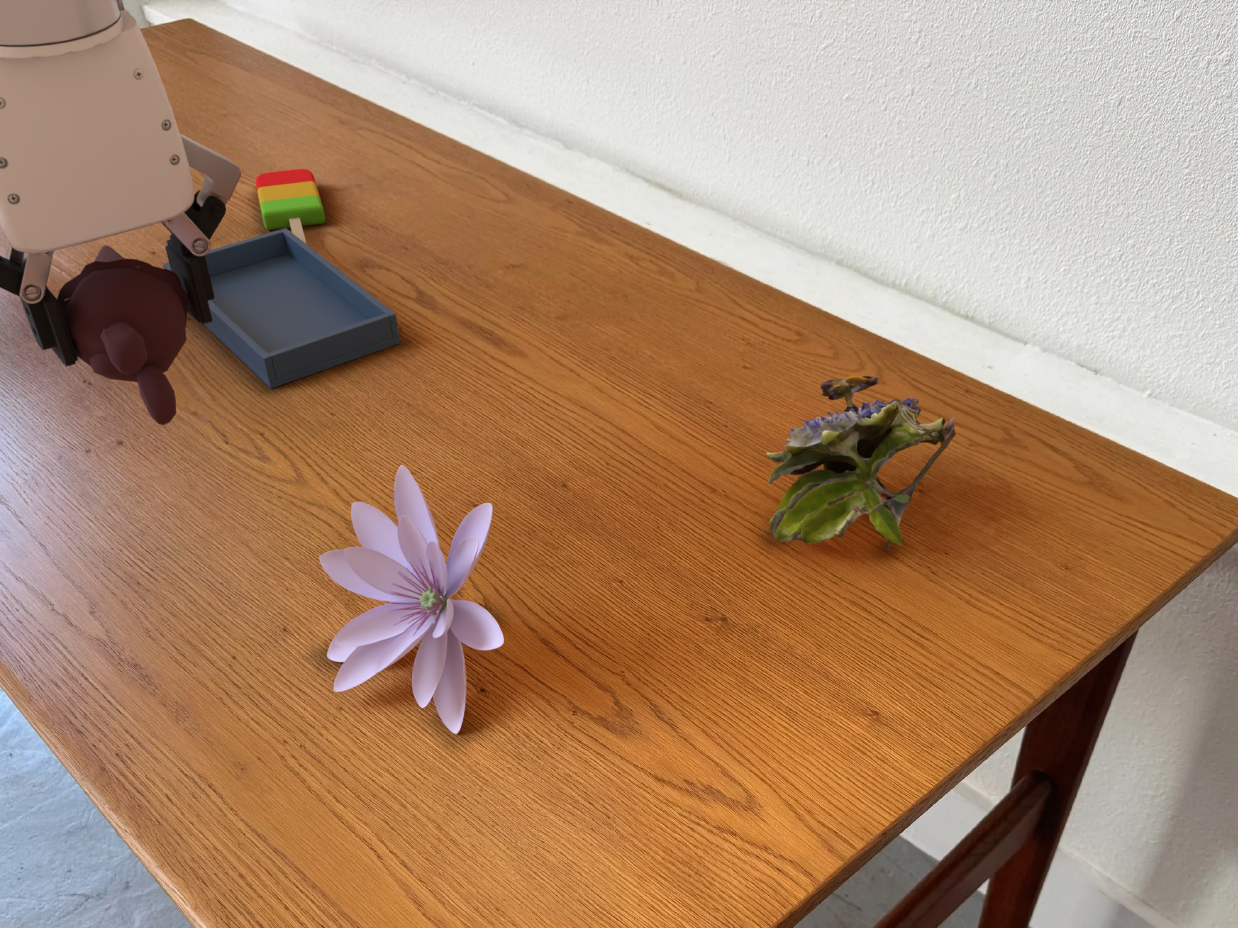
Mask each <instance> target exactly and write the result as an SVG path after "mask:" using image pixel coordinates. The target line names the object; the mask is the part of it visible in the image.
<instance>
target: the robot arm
mask: <svg viewBox="0 0 1238 928" xmlns="http://www.w3.org/2000/svg"><path fill="white" fill-rule="evenodd" d="M191 168H192V169H194V170H196V171H198V172H200V173H203V179H202V182H201V185H202V186H201V188H200V189H199V190H197V191H196V192H195V188H194V187H195V186H194V180H193V176H192V171H191ZM241 176H242V169H241V168H240V166H239V165H237V164H236V163H235V162H233V160H231V159H230V158H229V157H227V156H225V155H222V154H221V153H219V152H217V151H216V150H214V149H211V148H209V147H207V146H205V145H203V144H202V143H199V142H197V141H196V140H194V139H191V138H190V137H188V136H186V135H184V134H183V133H180V129H179V126H178V124H177V121H176V118H175V114H174V111H173V108H172V105H171V102H170V100H169V97H168V94H167V91H166V88H165V85H164V83H163V81H162V79H161V75H160V73H159V70H158V67H157V65H156V63H155V60H154V58H153V56H152V53H151V51H150V49H149V46H148V43H147V41H146V39H145V37H144V35H143V33H142V31H141V28H140V26H139V25H138V22H137V20H136V18H135V17H134V16H133V15H132V14H131V13H130V12H129V11H128V10H127V9H126V8H125V6H124V2H123V0H0V229H2V232H3V235H4V236H5V239H6V240H7V242H8V247H7V252H6V256H5V257H4V256H2V255H0V289H2V290H4V291H6V292H9V293H11V294H12V295H15V296H17V297H19V299H20V302H21V305H22V307H23V310H24V313H25V316H26V319H27V321H28V324H29V327H30V330H31V332H32V336H33V338H34V340H35V342H36V343H37V345H38V347H39V348H40V349H41V350H42V351H46V350H49V349H51V351H53V353H54V354H55V355H56V357H57V358H58V359H59V360H60V361H61V362H62V364H63V365H64V366H65V367H70V366H74V365H76V364H77V361H79V357H77V354H76V351H75V348H74V345H73V342H72V339H71V336H70V333H69V330H68V327H67V324H66V321H65V318H64V315H63V312H62V309H61V306H60V304H59V302H58V300H57V298H58V297H56V296H55V295H54V294H53V292H52V291H51V290H50V288H48V286H47V284H48V279H49V276H50V271H51V266H52V262H53V258H54V253H55V251H59V250H64V249H68V248H71V247H74V246H78V245H82V244H87V243H90V242H95V241H98V240H102V239H106V238H109V237H113V236H117V235H120V234H124V233H128V232H131V231H135V230H136V231H137V230H139V229H143V228H146V227H150V226H153V225H158V224H161V225H162V226H163V227H164V228H165V229H166V230H167V231H168V232H169V233H170V235H169V239H167V240H166V244H167V245H164V246H165V247H164V248H165V252H166V256H167V260H168V262H169V264H170V268H171V271H172V272H174V273H176V274H177V276H178V277H179V279H180V282H181V285H182V289H183V290H184V291H185V292H186V293H187V295H188V299H189V300H188V306H187V314H189V315H190V316H191V317H192V318H193V319H194V320H195V321H196V322H197V324H202V325H204V324H206V323H209V322H212V316H211V312H210V308H209V304H208V301H209V300H212V299H214V292H213V288H212V284H211V279H210V275H209V271H208V267H207V263H206V258H205V255H206V254H207V253H208V252H209V250H211V247H212V246H211V245H212V244H211V241H210V240H211V239H212V237H213V235H214V234H215V232H216V230H217V229H218V227H219V225H220V223H221V222H222V220H223V218H224V217H225V215H226V213H227V207H226V205H227V204H228V201H229V202H230V200H231V198H232V196H233V194H234V191H235V189H236V187H237V185H238V183H239V181H240V179H241Z"/></svg>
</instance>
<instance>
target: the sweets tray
mask: <svg viewBox="0 0 1238 928" xmlns="http://www.w3.org/2000/svg"><path fill="white" fill-rule="evenodd" d="M205 258H206V263H207V267H208V271H209V275H210V279H211V284H212V288H213V292H214V299H212V300H209V301H208V304H209V308H210V312H211V316H212V322H209V323H206V324H203V325H204V326H205V327H206V328H207V329H208V330H209V331H210V332H211V333H212V334H213V335H214V336H215V337H216V338H218V340H219V341H221V343H223V344H224V345H225V346H226V347H227V348H228V350H230V351H231V352H232V353H233V354H234V355H235V356H236V357H237V358H238V359H239V360H240V361H241V362H242V363H243V364H244V365H246V366H247V368H249V370H251V371H252V372H253V373H254V374H255V375H256V376H257V378H259V379H260V380H261V381H262V382H263V383H264V384H265V385H266V386H267V387H268V388H269V389H275V388H277V387H280V386H283V385H286V384H289V383H291V382H294V381H297V380H299V379H303V378H305V377H309V376H311V375H314V374H317V373H319V372H322V371H325V370H328V369H332V368H333V367H336V366H339V365H343V364H345V363H347V362H351V361H354V360H356V359H359V358H362V357H364V356H368V355H370V354H373V353H377V352H380V351H382V350H385V349H387V348H390V347H393V346H396V345H398V344H400V343H401V339H400V333H399V332H400V331H399V327H398V326H399V325H398V319H397V313H395V311H393V310H391V308H390V307H388V306H387V305H385V304H384V303H383V302H382V301H381V300H379V299H378V298H376V296H374V295H373V294H371V293H370V292H368V291H367V290H366V289H365V288H363V287H362V286H361V285H359V284H358V283H357V282H356V281H355V280H353V279H352V278H351V277H350V276H348V275H347V274H346V273H344V272H343V271H341V269H339V268H338V267H337V266H335V265H334V264H333V263H332V262H331V261H329V260H328V259H326V257H324V256H322V255H321V254H320V253H319V252H317V250H315V249H313V248H312V247H311V246H310V245H309V244H307V242H306V243H305V242H303V241H302V240H301V239H299V238H298V237H297V236H296V235H294V234H293V233H292V231H291V230H289V228H284V229H277V230H273V231H271V232H267V233H263V234H261V235H257V236H254V237H250V238H248V239H244V240H240V241H237V242H234V243H230V244H227V245H224V246H220V247H216V248H213V249H210V250H209V252H208V253H207V254H206V255H205ZM162 268H163V269H167V270H170V271H171V268H170V264H169V261H168V262H165V263H163V264H162Z"/></svg>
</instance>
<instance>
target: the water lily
mask: <svg viewBox="0 0 1238 928" xmlns="http://www.w3.org/2000/svg"><path fill="white" fill-rule="evenodd" d="M396 471H397V472H396V474H395V478H394V484H393V504H394V509H395V514H396V518H397V522H398V523H395V522H394V521H393V520H392V519H391V518H390V517H389V516H388V515H386V514H385V513H383V511H381V510H380V509H378V508H377V507H375V506H373V505H372V504H370V503H369V504H368V503H367V502H363V501H354V502H352V503H351V507H350V514H351V515H350V516H351V522H352V527H353V530H354V533H355V535H356V537H357V540H358V542H359V543H360V545H361V546H349V547H348V546H347V547H345V548H344V549H333V550H330V551H326V552H324V553H322V554H320V556H319V558H318V560H319V563H320V565H321V567H322V569H323V570H324V572H325V573H326V574H327V575H328V577H329V578H331V580H333V581H334V582H335V583H336V584H338V585H339V586H341V587H342V588H344V589H346V590H347V591H350V592H351V593H354V594H357V595H359V596H363V597H364V598H368V599H372V600H376V601H380V602H386V603H385V604H384V603H383V604H381V605H378V606H375V607H373V608H371V609H369V610H367V611H365V612H363V613H361V614H359V615H358V616H356V617H354V618H352V619H351V620H350V621H348V622H347V623H346V624H345V625H344V626H343V627H342V628H341V629H340V630H339V631H338V632H337V633H336V634H335V636H334V638H333V639H332V641H331V642H330V644H329V645H328V648H327V653H326V657H327V658H328V660H330V661H332V662H337V663H342V664H341V665H340V668H339V670H338V671H337V673H336V677H335V679H334V683H333V692H336V693H340V692H345V691H348V690H351V689H353V688H357V686H359V685H361V684H364V683H365V682H367V681H368V680H370V679H372V678H374V677H375V676H377V675H378V674H380V673H381V672H383V671H384V670H385V669H387V668H389V667H391V666H392V665H393V664H395V663H396V662H398V661H399V660H401V659H402V658H403V657H405V656H406V655H407V654H408V653H410V652H411V651H412V650H413V649H414V648H415V647H416V646H417V645H418V644H419V643H420V642H421V643H420V645H419V647H418V649H417V653H416V655H415V657H414V658H415V659H414V662H413V665H412V666H413V667H412V675H411V687H412V692H413V696H414V699H415V701H416V703H417V705H418V706H419V707H420V708H421V709H425V708H426V707H428V705H429V703H430V702H431V700H432V698H433V702H434V706H435V709H436V711H437V714H438V716H439V718H440V720H441V721H442V723H443V725H445V727H446V728H447V729H448V730H449V731H450V732H451V733H452V734H454V735H458V734H459V732H460V731H461V728H462V725H463V722H464V716H465V711H466V702H467V668H466V661H465V654H464V650H463V645H462V644H464V645H465V646H467V647H469V648H471V649H473V650H479V651H490V650H491V651H492V650H496V649H498V648H501V647H502V646H503V645H504V643H505V638H504V634H503V631H502V629H501V626H500V624H499V623H498V622H497V620H496V619H495V617H494V616H493V615H492V613H490V611H488V610H487V609H486V608H484V607H483V606H482V605H479V604H478V603H477V602H475V601H472V600H465V599H457V600H456V599H454V600H453V599H450V598H451V597H452V596H454V595H455V594H456V593H458V592H459V591H460V590H461V589H462V587H463V586H464V585H465V584H466V582H467V581H468V579H469V578H470V576H471V575H472V573H473V571H474V570H475V568H476V566H477V565H478V564H479V561H480V559H481V557H482V554H483V552H484V550H485V547H486V544H487V541H488V537H489V534H490V529H491V526H492V525H491V524H492V519H493V510H494V509H493V507H494V506H493V504H492V503H491V502H485V503H482V504H480V505H478V506H476V507H474V508H473V509H472V510H470V511H469V512H468V513H467V514H466V516H464V518H463V519H462V520H461V522H460V524H459V525H458V527H457V529H456V531H455V533H454V535H453V538H452V541H451V544H450V548H449V552H448V555H447V560H446V559H445V556H444V554H443V552H442V550H441V546H440V545H441V544H440V539H439V535H438V530H437V527H436V523H435V520H434V518H433V515H432V511H431V509H430V507H429V503H428V502H427V500H426V497H425V495H424V492H423V491H422V489H421V488H420V485H419V484H418V482H417V481H416V479H415V477H414V475H413V474H412V473H411V471H410V470H409V469H408V468H407V467H406V466H405V465H404V464H400V466H399V467H398V469H397V470H396Z"/></svg>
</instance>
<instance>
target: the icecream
mask: <svg viewBox="0 0 1238 928" xmlns="http://www.w3.org/2000/svg"><path fill="white" fill-rule="evenodd" d="M58 291H59V292H58V294H57V297H56V298H57V300H58V302H59V304H60V306H61V309H62V312H63V315H64V318H65V321H66V324H67V327H68V330H69V333H70V336H71V339H72V342H73V345H74V348H75V351H76V354H77V357H78V359H80V360H81V361H83V362H84V363H86V364H87V366H89V367H90V368H91V369H92V372H93V373H94V374H96V375H100V376H102V377H103V378H106V379H108V380H113V381H114V380H115V381H121V382H122V381H124V382H132V383H137V386H138V390H139V394H140V397H141V399H142V401H143V404H144V406H145V408H146V410H147V412H148V414H149V416H150V418H152V420H154V421H155V422H156V423H157V424H158V425H161V426H165V425H167V424H169V423H171V421H173V419H174V417H175V416H176V414H177V399H176V392H175V390H174V388H173V386H172V384H171V382H170V380H169V379H168V377H167V375H166V374H165V373H166V372H168V371H169V369H170V367H171V366H172V364H173V363H174V361H175V359H176V358H177V356H178V355H179V353H180V351H181V350H182V348H183V347H184V345H185V344H186V342H187V331H186V330H187V321H188V320H187V319H188V316H187V315H188V312H187V306H188V300H189V299H188V295H187V293H186V292H185V291H184V290H183V289H182V285H181V282H180V279H179V277H178V276H177V274H176V273H174V272H172V271H170V270H167V269H164V267H158V266H155V265H152V264H151V263H149V262H146V261H143V260H140V259H137V258H125V257H124V256H122V254H120V253H119V252H118V251H116V250H115V249H114V248H112V247H111V246H109V245H103V246H102V247H101V248H100V249H99V251H98V252H97V256H96V257H95V259H94V261H92V262H90V263H87V264H85V265H84V266H83V268H82V270H81V272H80V273H79V274H77V275H75V277H73V278H71V279H70V280H68V281H67V282H65V283H64V284H63V285H62V287H61V288H60V289H59V290H58Z"/></svg>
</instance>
